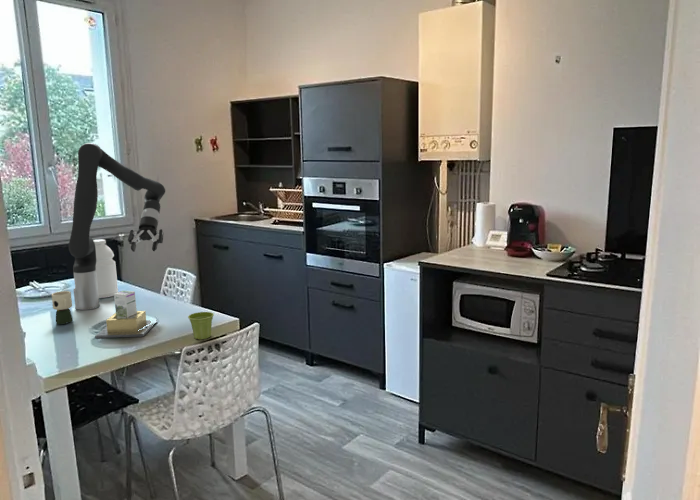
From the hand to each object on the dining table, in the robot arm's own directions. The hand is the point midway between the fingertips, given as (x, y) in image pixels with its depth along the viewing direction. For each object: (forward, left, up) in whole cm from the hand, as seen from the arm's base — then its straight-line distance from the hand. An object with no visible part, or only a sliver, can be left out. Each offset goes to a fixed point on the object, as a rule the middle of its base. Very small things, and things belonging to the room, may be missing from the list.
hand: (143, 250), depth 229 cm
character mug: (-32, -9, -29) cm, 44 cm away
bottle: (-34, +38, -29) cm, 59 cm away
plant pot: (+30, -33, -29) cm, 53 cm away
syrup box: (-2, -20, -28) cm, 35 cm away
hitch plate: (-2, -21, -29) cm, 35 cm away
